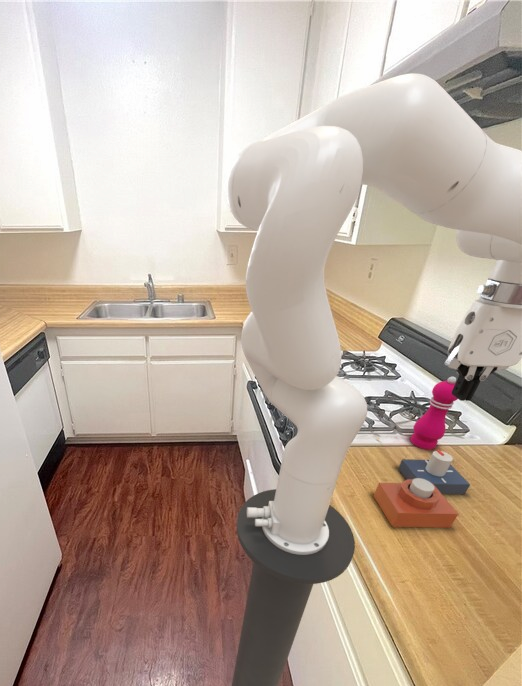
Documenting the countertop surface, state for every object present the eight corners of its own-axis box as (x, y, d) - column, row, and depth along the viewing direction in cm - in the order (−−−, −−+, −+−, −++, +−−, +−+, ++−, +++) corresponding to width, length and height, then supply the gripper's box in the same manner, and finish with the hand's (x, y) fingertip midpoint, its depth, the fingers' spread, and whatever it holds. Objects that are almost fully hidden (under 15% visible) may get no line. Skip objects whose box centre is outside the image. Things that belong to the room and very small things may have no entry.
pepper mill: (431, 437, 99) (462, 372, 88) (441, 452, 93) (476, 384, 82) (404, 434, 100) (431, 369, 89) (413, 449, 94) (443, 381, 83)
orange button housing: (392, 526, 70) (402, 505, 67) (373, 495, 78) (381, 475, 75) (450, 527, 71) (463, 506, 67) (426, 496, 78) (436, 476, 75)
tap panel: (417, 493, 79) (422, 483, 77) (398, 468, 86) (402, 458, 85) (464, 494, 79) (471, 484, 77) (441, 469, 87) (446, 459, 85)
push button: (415, 498, 70) (418, 491, 68) (405, 485, 73) (408, 477, 72) (434, 498, 70) (438, 491, 68) (423, 485, 73) (427, 478, 72)
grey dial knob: (448, 476, 79) (457, 460, 77) (431, 476, 79) (440, 460, 77) (438, 465, 83) (446, 449, 80) (421, 465, 83) (429, 449, 80)
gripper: (480, 298, 51) (431, 406, 61) (580, 300, 51) (515, 408, 61) (450, 288, 58) (410, 387, 68) (539, 290, 58) (486, 389, 68)
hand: (460, 397), depth 65 cm, fingers closed
